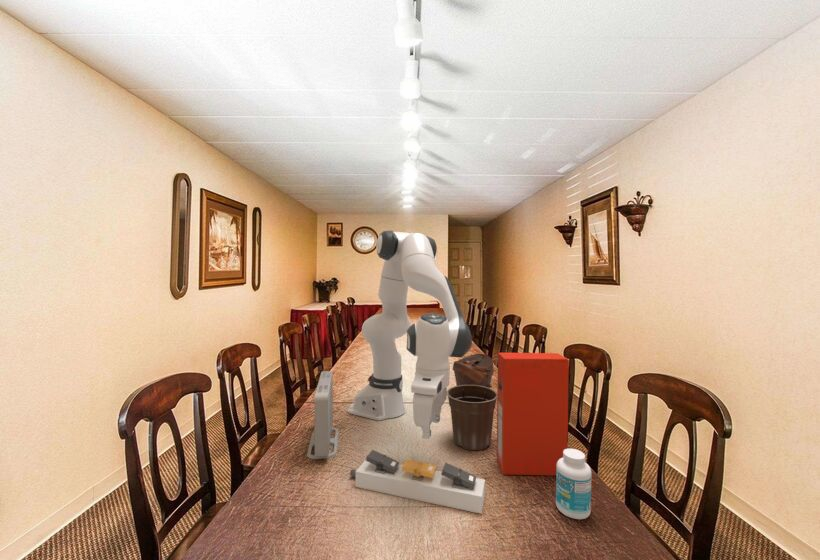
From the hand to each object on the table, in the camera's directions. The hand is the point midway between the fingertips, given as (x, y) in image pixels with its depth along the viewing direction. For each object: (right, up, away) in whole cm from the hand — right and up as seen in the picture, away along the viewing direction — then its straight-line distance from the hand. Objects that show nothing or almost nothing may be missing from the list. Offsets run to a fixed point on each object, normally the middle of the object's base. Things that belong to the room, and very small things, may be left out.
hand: (431, 429), depth 92 cm
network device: (-33, -14, +21) cm, 42 cm away
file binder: (+29, -14, +8) cm, 33 cm away
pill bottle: (+32, -15, -10) cm, 37 cm away
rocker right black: (+6, -9, -6) cm, 12 cm away
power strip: (-5, -14, -2) cm, 15 cm away
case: (+22, -13, +62) cm, 67 cm away
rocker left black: (-13, -9, 0) cm, 15 cm away
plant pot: (+14, -14, +23) cm, 30 cm away
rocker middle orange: (-3, -9, -3) cm, 10 cm away
